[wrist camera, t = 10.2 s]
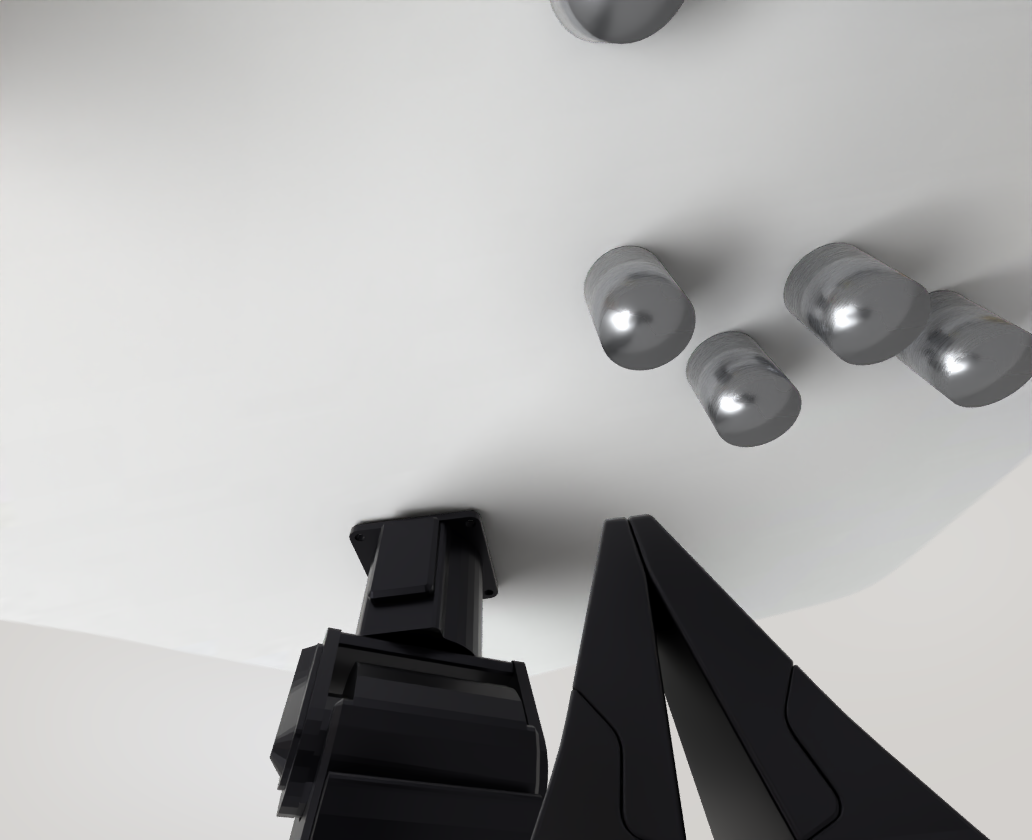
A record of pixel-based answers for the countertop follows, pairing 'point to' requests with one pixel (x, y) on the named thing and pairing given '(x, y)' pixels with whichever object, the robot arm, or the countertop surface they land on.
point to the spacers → (788, 305)
